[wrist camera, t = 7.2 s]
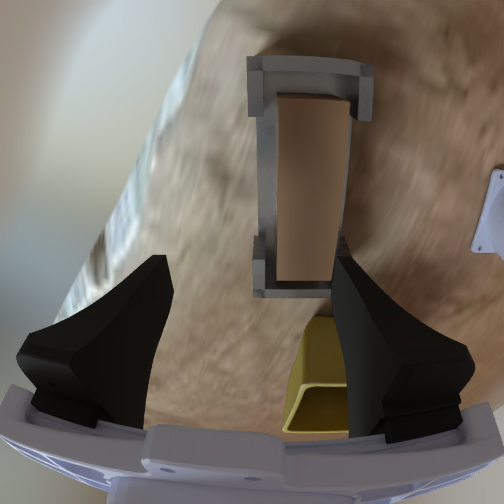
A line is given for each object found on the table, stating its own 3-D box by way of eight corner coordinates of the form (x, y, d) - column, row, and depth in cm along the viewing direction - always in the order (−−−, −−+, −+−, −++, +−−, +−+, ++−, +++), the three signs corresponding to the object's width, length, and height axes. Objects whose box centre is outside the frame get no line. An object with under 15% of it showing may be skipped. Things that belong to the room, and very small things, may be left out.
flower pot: (296, 296, 27) (302, 384, 19) (386, 303, 27) (413, 382, 19) (280, 357, 32) (281, 433, 24) (357, 360, 32) (370, 431, 24)
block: (333, 94, 17) (349, 101, 13) (322, 246, 23) (331, 280, 19) (276, 92, 17) (278, 98, 14) (275, 246, 23) (276, 280, 20)
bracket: (355, 61, 16) (374, 60, 13) (336, 268, 25) (344, 299, 22) (250, 55, 16) (246, 52, 13) (255, 267, 25) (253, 299, 22)
